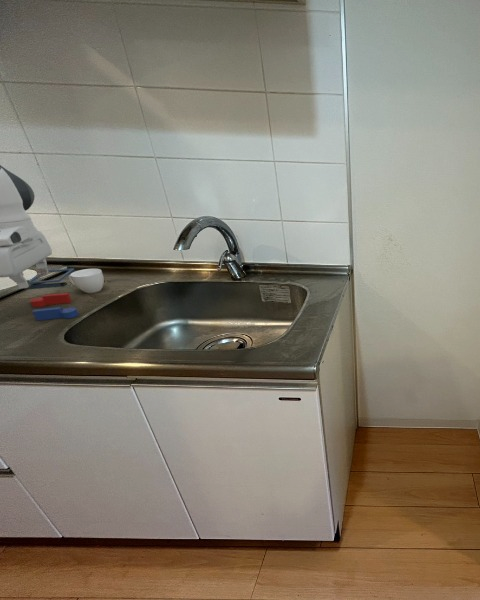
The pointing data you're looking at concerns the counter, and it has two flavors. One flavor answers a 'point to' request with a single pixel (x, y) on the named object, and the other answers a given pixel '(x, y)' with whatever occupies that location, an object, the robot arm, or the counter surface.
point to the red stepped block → (51, 299)
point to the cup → (88, 280)
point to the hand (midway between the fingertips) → (35, 280)
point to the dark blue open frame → (49, 280)
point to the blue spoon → (55, 313)
